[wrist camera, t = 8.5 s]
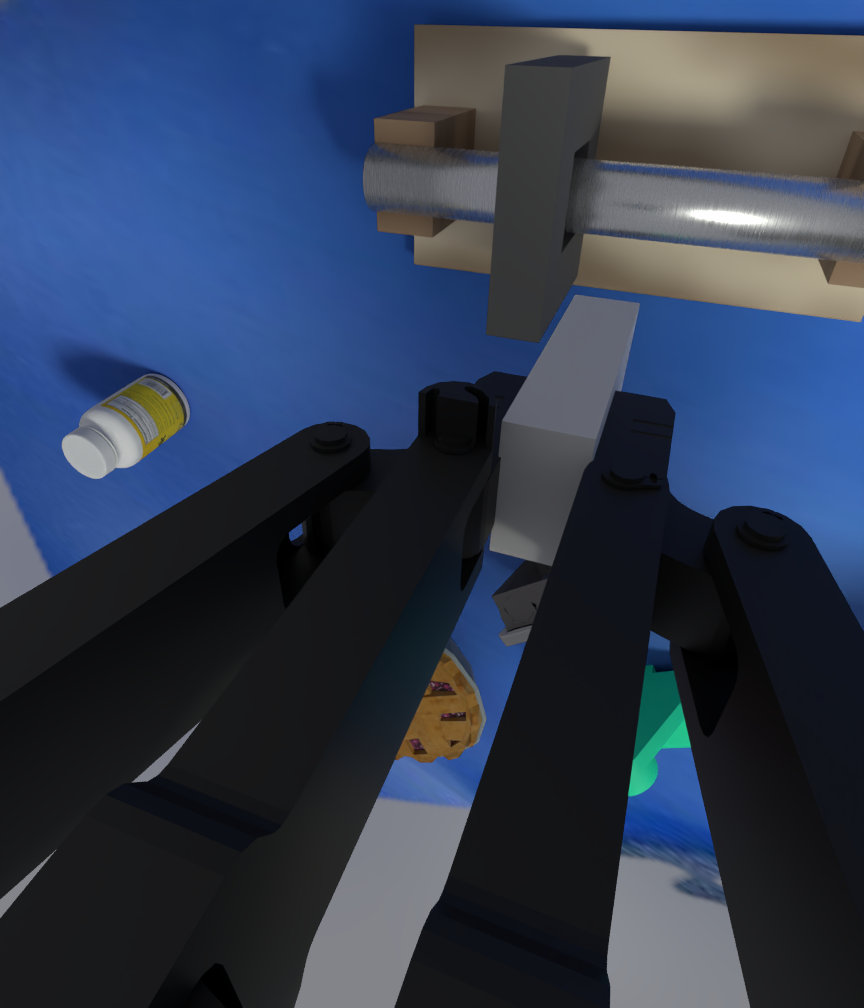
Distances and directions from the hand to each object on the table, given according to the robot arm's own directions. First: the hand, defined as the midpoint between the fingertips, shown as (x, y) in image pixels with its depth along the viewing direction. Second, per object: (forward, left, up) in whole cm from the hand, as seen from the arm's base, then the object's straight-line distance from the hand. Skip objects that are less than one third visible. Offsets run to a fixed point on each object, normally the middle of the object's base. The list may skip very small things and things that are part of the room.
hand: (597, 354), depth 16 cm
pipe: (0, +1, -18) cm, 18 cm away
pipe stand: (0, +1, -25) cm, 25 cm away
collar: (0, +5, -22) cm, 22 cm away
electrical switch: (-27, +1, -25) cm, 37 cm away
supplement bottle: (-21, +38, -25) cm, 50 cm away
